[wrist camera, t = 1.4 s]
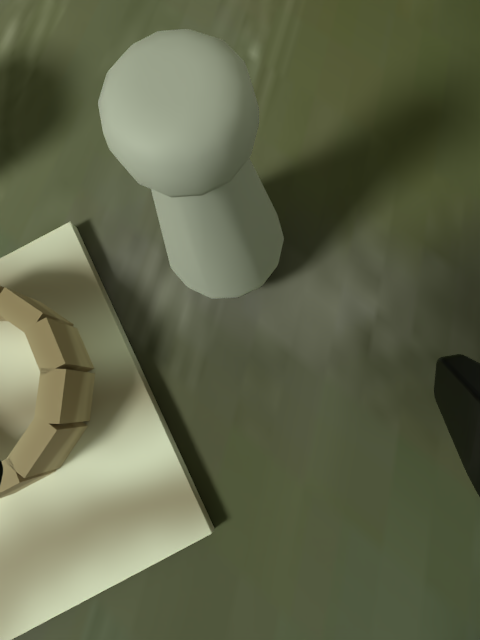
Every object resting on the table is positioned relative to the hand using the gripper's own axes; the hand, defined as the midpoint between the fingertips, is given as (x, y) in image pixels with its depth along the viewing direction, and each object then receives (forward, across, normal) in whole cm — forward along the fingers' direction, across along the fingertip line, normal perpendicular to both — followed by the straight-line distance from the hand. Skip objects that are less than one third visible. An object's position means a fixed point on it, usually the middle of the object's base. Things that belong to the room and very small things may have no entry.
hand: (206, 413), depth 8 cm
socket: (+10, +12, +9) cm, 18 cm away
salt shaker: (+16, 0, +4) cm, 16 cm away
